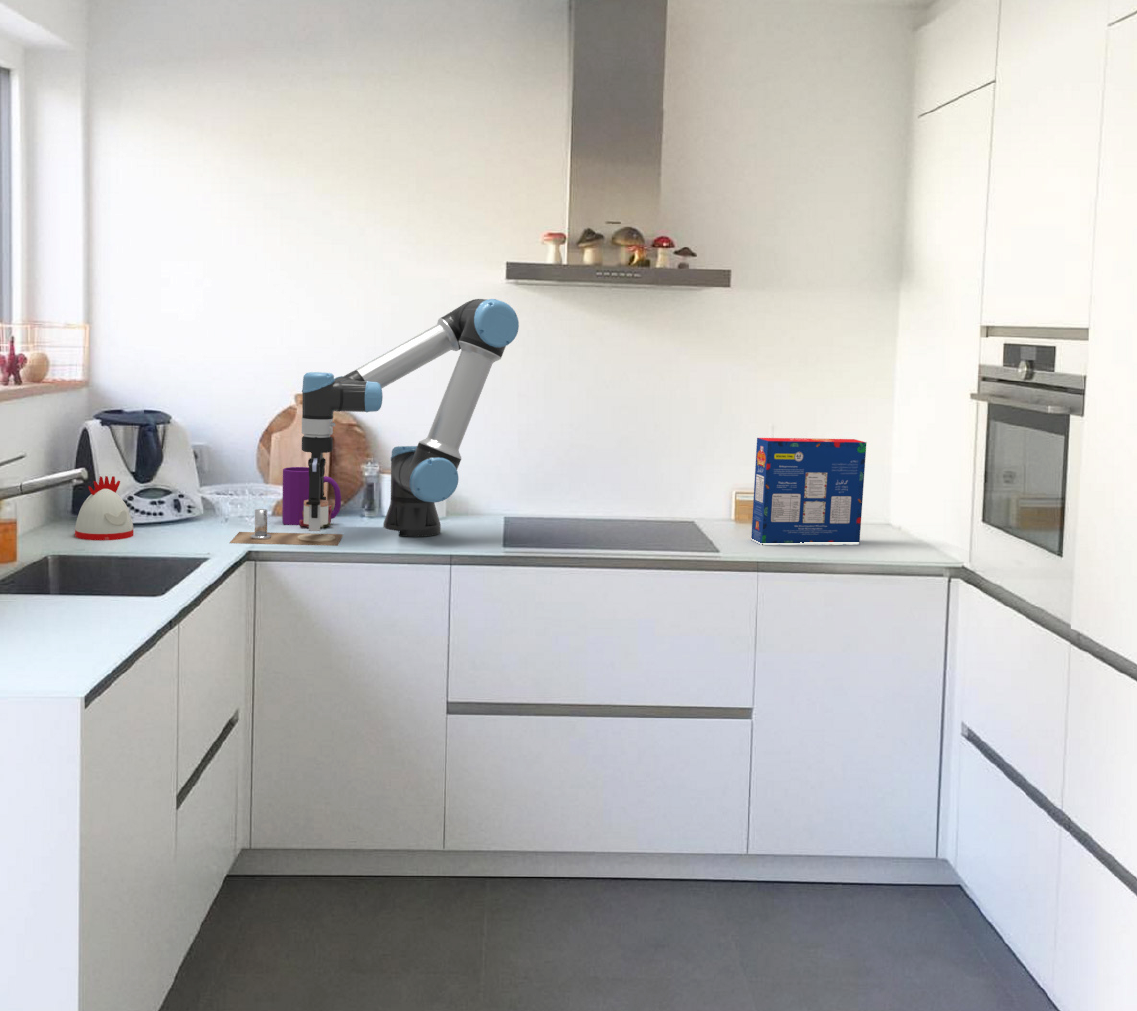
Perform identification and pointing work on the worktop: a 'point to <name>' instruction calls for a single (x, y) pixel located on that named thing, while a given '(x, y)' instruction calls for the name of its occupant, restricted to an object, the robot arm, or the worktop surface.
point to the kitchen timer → (104, 514)
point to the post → (261, 525)
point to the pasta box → (808, 490)
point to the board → (282, 539)
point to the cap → (324, 512)
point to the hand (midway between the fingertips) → (315, 528)
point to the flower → (323, 525)
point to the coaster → (316, 537)
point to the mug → (301, 494)
